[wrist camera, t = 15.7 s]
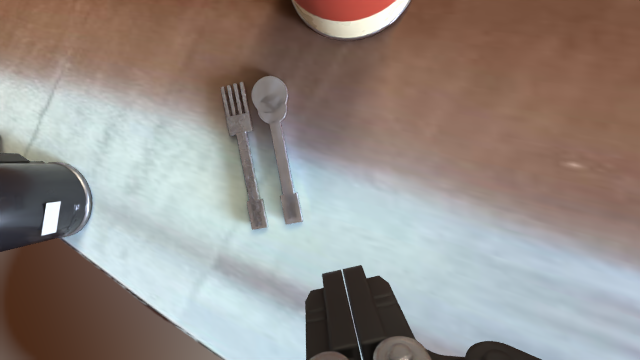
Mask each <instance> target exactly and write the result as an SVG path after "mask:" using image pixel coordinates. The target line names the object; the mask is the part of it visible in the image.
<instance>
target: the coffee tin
mask: <svg viewBox="0 0 640 360" xmlns="http://www.w3.org/2000/svg"><path fill="white" fill-rule="evenodd" d="M291 1H292V3H293V6H294V7H295V9H296V11H297V13H298V15H299V16H300V17H301V19H302V20H303V21H304V22H305V23H306V24H307V25H308V26H309V27H310V28H311V29H313V30H314V31H315V32H317V33H319V34H321V35H323V36H325V37H328V38H331V39H335V40H342V41H354V40H360V39H364V38H367V37H371V36H373V35H375V34H377V33H379V32H381V31H383V30H384V29H386V28H387V27H389V26H390V25H391V24H392V23H394V22H395V21H396V20H397V19H398V18H399V17H400V16H401V14H402V13H403V12H404V11H405V9H406V8H407V6H408V5H409V3H410V1H411V0H291Z"/></svg>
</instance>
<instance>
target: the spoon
mask: <svg viewBox="0 0 640 360" xmlns="http://www.w3.org/2000/svg"><path fill="white" fill-rule="evenodd" d="M252 101H253V104H254V106H255V107H256V108H257V109H258V114H259V116H260V118H261V119H262V120H263V121H264V122H266V123H268V124H270V130H271V135H272V140H273V145H274V150H275V155H276V161H277V166H278V171H279V176H280V181H281V186H282V192H283V195H281V196H280V197H281V203H282V208H283V213H284V218H285V223H286V224H291V223H297V222H302V221H303V217H302V212H301V207H300V202H299V197H298V192H296V193H295V192H294V187H293V182H292V177H291V171H290V166H289V161H288V156H287V151H286V145H285V140H284V135H283V130H282V125H281V121H283V120H284V118H285V117H286V114H287V101H288V90H287V87H286V85H285V84H284V82H283V81H281V80H280V79H279V78H277V77H274V76H266V77H263V78H261V79H259V80H258V81H257V82H256V83H255V85H254V87H253V89H252Z"/></svg>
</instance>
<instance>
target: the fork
mask: <svg viewBox="0 0 640 360" xmlns="http://www.w3.org/2000/svg"><path fill="white" fill-rule="evenodd" d="M233 86H234V91H235V96H236V101H237V107H238V112H239V115H237V112H236V107H235V102H234V97H233V91H232V86H231V85H228V86H227V90H228V95H229V100H230V105H231V110H232V115H233V116H231V114H230V109H229V104H228V99H227V94H226V89H225V87H221V92H222V97H223V102H224V108H225V113H226V117H227V118H226V120H227V126H228V131H229V135H230V136H233V135H236V136H237V141H238V146H239V151H240V156H241V161H242V166H243V171H244V176H245V181H246V186H247V191H248V196H249V201H247V206H248V211H249V217H250V222H251V227H252V230H253V229H260V228H266V227H268V222H267V217H266V212H265V207H264V201H263V199H260V197H259V192H258V186H257V181H256V176H255V171H254V166H253V161H252V156H251V151H250V146H249V141H248V136H247V132H251V131H254V130H253V125H252V120H251V115H250V111H249V106H248V100H247V95H246V90H245V85H244V82H240V88H241V93H242V98H243V103H244V108H245V113H244V114H243V109H242V103H241V98H240V93H239V88H238V84H237V83H235V84H233Z"/></svg>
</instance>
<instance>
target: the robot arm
mask: <svg viewBox="0 0 640 360" xmlns="http://www.w3.org/2000/svg"><path fill="white" fill-rule="evenodd" d="M91 210H92V196H91V191H90V188H89V185H88V183H87V181H86V180H85V178H84V177H83V175H82V174H81V173H80V172H79V171H78V170H77V169H75V168H74V167H72V166H71V165H68V164H65V163H59V162H53V163H45V162H43V161H29V160H27V159H26V158H24V157H23V156H21V155H20V154H12V153H0V252H2V251H6V250H10V249H14V248H18V247H22V246H26V245H31V244H34V243H39V242H43V241H47V240H51V239H55V238H61V237H66V236H70V235H73V234H75V233H77V232H79V231H80V230H81V229H82V228H83V227H84V226H85V225H86V223H87V221H88V219H89V217H90V214H91ZM343 274H344V278H345V283H346V287H347V292H348V297H349V301H350V306H351V310H352V315H353V319H354V324H355V328H356V332H357V336H358V341H359V345H360V349H361V353H362V358H363V360H541V359H539V358H537V357H534V356H532V355H530V354H527V353H525V352H523V351H520V350H518V349H516V348H514V347H511V346H509V345H506V344H504V343H500V342H494V341H484V342H479V343H476V344H474V345H473V346H471V347H470V348H469V349H468V351H467V353H466V356H465V357H455V356H444V355H439V354H436V353H433V352H431V351H429V350H427V349H425V348H424V346H422V345H421V344H420V343H419V342H418V341H417V340H416V339H415V337H414V335H413V333H412V331H411V329H410V327H409V325H408V323H407V321H406V319H405V317H404V314H403V312H402V310H401V308H400V306H399V304H398V302H397V300H396V298H395V295H394V294H393V291H392V289H391V287H390V285H389V283H388V282H387V281H385V280H384V279H383V278H381V277H380V276H375V277H371V278H366V276H365V273H364V270H363V268H362V265H360V266H355V267H351V268H346V269H343ZM322 277H323V286H324V288H321V289H317V290H312V291H310V293H309V295H308V297H307V299H306V301H305V309H306V360H361V355H360V351H359V346H358V342H357V337H356V333H355V329H354V324H353V320H352V316H351V311H350V307H349V302H348V298H347V294H346V289H345V285H344V281H343V276H342V272H341V270H337V271H333V272H328V273H324V274H322Z"/></svg>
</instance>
